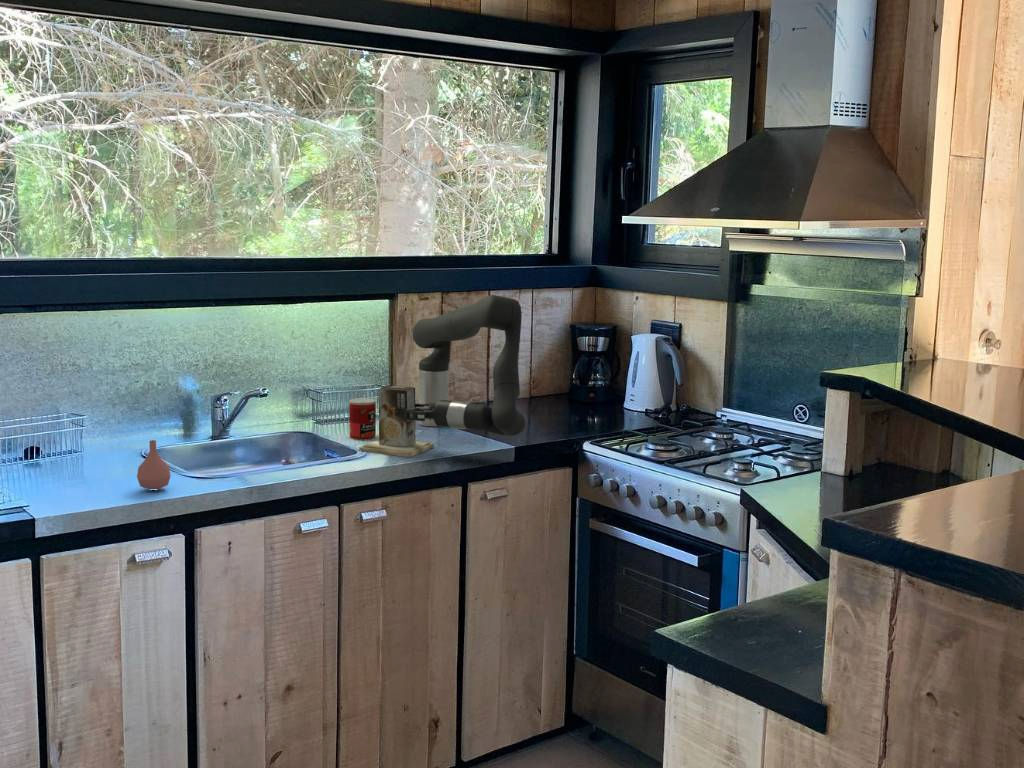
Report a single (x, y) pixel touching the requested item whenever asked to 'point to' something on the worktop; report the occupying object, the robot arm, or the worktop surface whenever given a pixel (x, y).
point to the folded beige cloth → (397, 448)
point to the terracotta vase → (153, 470)
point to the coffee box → (392, 426)
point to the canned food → (362, 418)
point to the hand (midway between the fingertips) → (403, 409)
